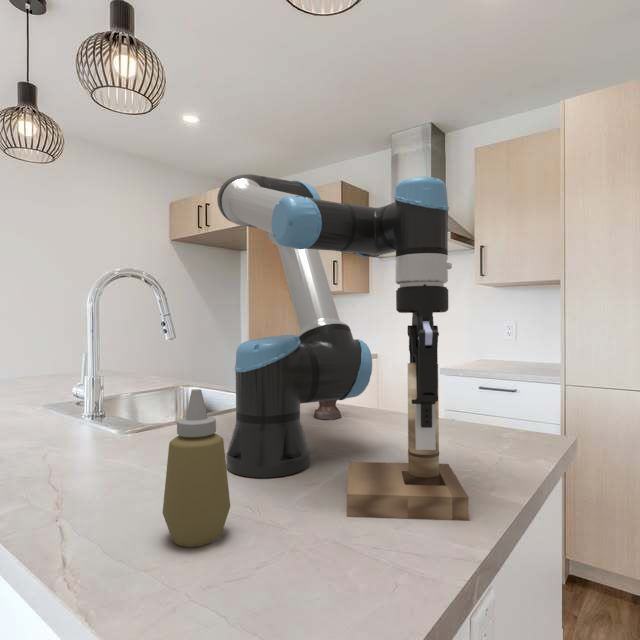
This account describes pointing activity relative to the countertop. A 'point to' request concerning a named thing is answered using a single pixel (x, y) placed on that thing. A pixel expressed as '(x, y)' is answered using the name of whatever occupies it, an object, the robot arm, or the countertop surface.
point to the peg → (418, 460)
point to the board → (404, 493)
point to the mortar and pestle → (327, 410)
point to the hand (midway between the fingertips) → (423, 444)
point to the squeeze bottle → (196, 479)
